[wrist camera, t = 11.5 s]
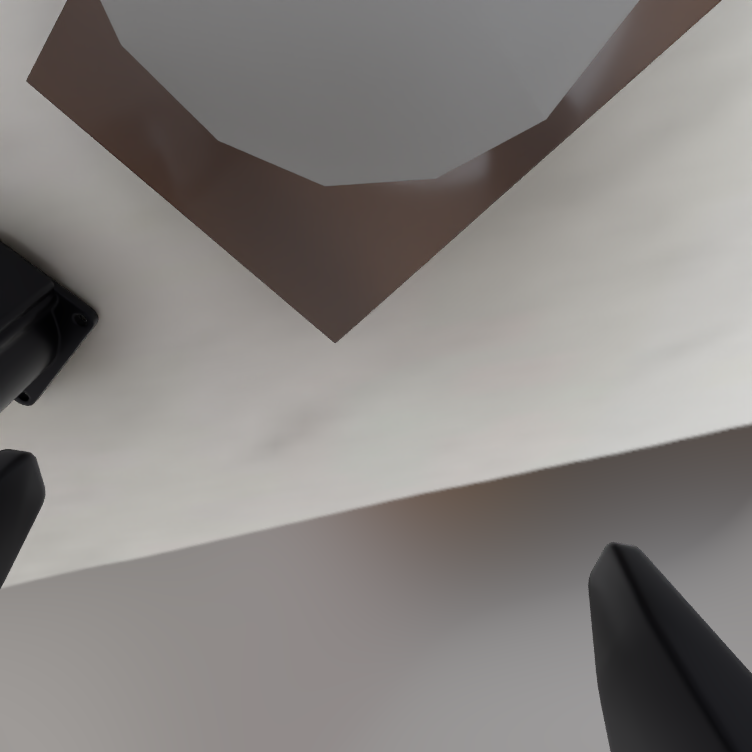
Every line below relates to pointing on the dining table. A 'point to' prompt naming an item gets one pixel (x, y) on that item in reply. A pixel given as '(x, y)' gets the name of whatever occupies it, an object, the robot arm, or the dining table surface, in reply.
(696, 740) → the robot arm
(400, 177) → the salt shaker
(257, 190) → the serving board
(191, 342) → the dining table surface
